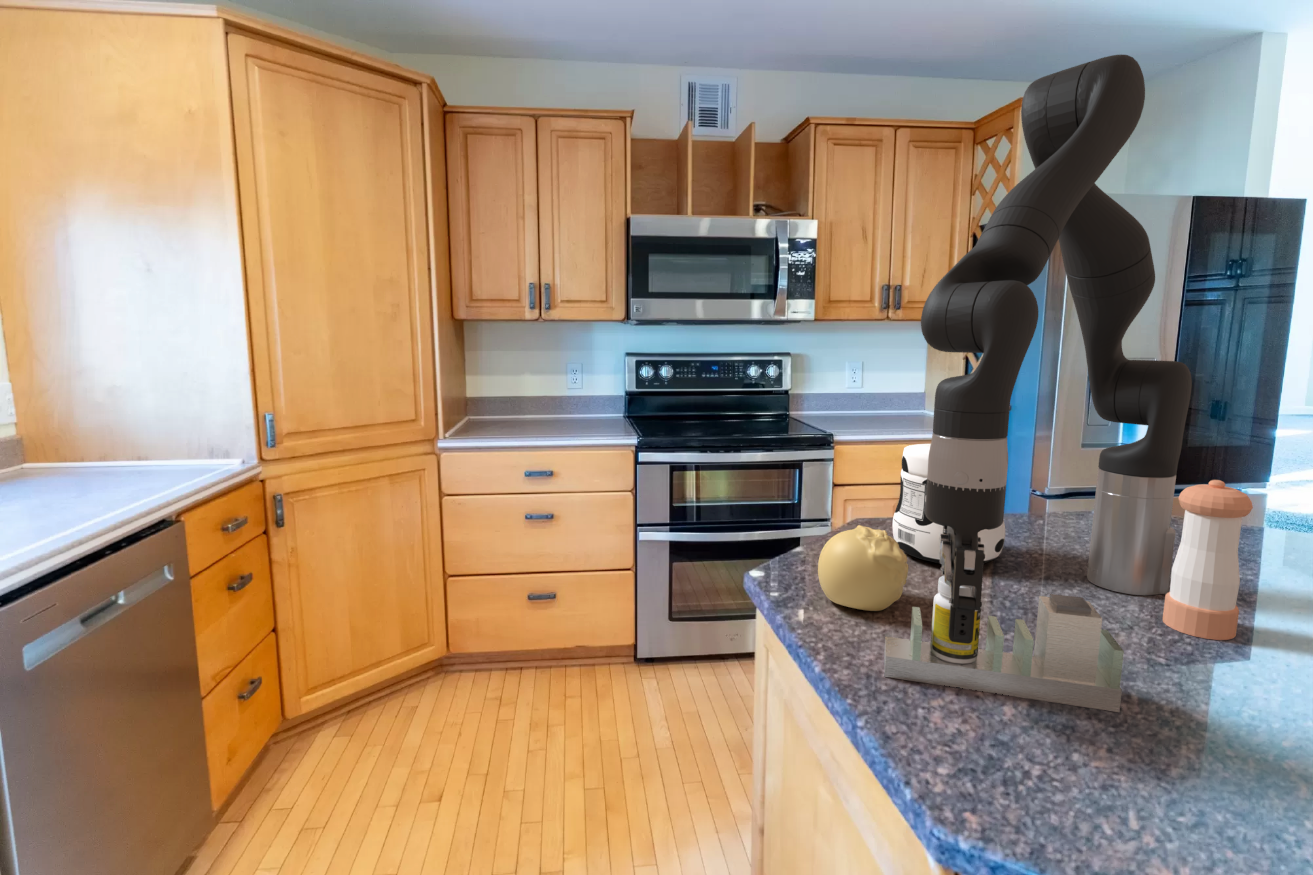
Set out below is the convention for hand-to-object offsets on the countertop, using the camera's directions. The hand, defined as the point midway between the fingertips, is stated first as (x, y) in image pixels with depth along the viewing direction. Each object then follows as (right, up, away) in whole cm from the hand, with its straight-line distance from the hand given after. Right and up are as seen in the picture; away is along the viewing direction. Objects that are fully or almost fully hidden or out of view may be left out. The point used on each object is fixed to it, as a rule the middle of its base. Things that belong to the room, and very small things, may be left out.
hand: (955, 624), depth 72 cm
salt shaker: (+37, -4, +13) cm, 39 cm away
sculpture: (-4, -3, +21) cm, 22 cm away
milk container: (+16, 0, +40) cm, 44 cm away
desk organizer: (+4, -6, 0) cm, 7 cm away
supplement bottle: (0, -4, +1) cm, 4 cm away
